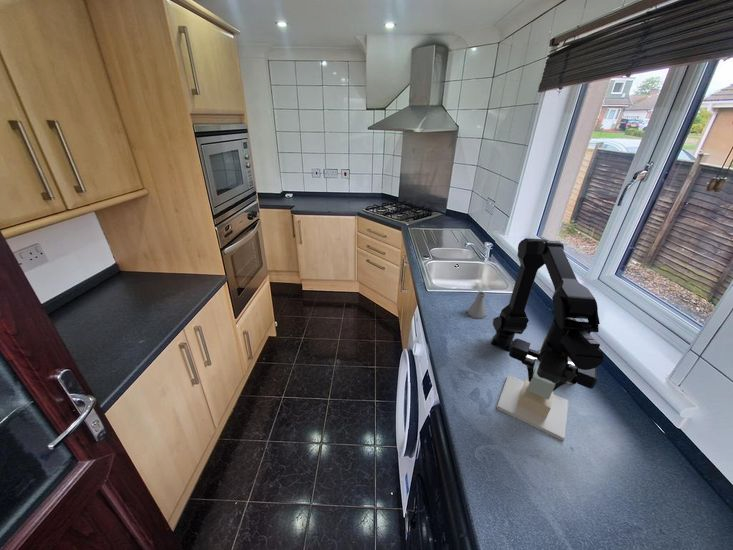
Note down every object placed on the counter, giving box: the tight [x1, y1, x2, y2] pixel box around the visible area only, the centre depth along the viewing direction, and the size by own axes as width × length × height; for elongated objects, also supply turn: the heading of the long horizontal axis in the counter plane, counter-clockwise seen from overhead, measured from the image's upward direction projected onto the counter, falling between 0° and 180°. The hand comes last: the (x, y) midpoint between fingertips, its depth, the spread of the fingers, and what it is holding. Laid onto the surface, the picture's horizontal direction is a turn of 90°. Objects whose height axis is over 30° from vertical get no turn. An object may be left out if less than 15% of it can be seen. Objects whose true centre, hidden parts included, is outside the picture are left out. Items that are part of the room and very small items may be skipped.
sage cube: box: [528, 365, 555, 400], centre depth 79 cm, size 5×5×5 cm
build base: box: [496, 374, 569, 442], centre depth 82 cm, size 14×16×5 cm
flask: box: [466, 290, 487, 319], centre depth 120 cm, size 7×7×10 cm
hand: (540, 385), depth 79 cm, fingers closed on sage cube, 5 cm apart
